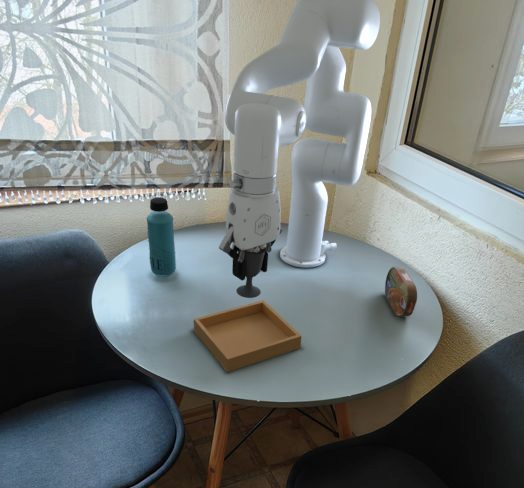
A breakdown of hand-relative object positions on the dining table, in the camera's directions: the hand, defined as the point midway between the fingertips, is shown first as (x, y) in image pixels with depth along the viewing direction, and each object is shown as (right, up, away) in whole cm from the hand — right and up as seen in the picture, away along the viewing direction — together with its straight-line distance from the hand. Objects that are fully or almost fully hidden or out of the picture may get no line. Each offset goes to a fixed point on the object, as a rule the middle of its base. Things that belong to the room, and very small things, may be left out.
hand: (249, 272), depth 101 cm
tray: (-1, -13, +10) cm, 17 cm away
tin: (+35, -5, +25) cm, 43 cm away
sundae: (0, -4, +3) cm, 5 cm away
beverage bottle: (-23, +4, +30) cm, 38 cm away
